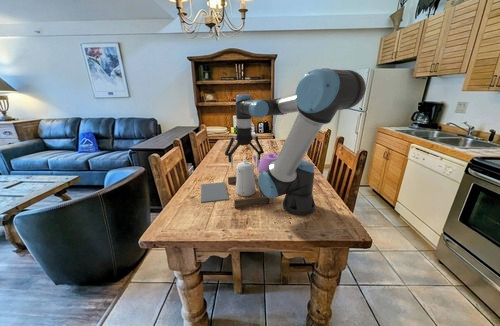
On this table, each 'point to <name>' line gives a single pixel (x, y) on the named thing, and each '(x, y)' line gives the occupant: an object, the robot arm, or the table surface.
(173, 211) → the table surface
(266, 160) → the teapot
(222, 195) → the trivet
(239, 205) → the bracket
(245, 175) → the coffeepot
